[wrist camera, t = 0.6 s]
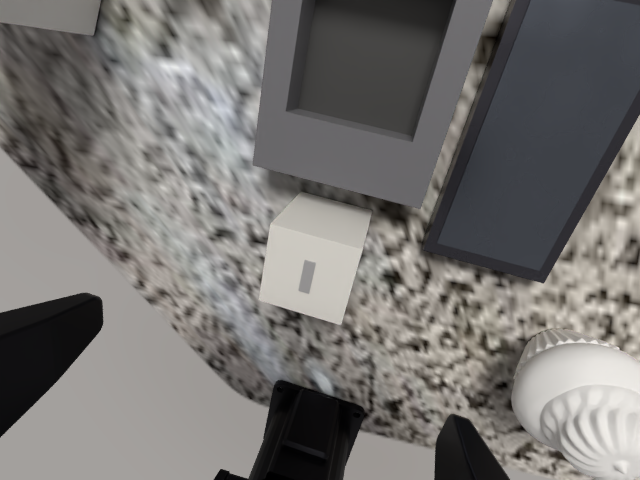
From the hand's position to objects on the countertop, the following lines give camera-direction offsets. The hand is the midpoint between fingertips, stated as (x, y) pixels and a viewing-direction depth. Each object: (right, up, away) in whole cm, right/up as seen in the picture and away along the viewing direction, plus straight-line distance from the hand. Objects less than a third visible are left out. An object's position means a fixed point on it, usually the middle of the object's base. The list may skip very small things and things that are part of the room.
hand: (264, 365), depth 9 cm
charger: (+2, +3, +11) cm, 12 cm away
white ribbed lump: (+15, -3, +11) cm, 19 cm away
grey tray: (+4, +11, +7) cm, 14 cm away
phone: (+11, +7, +7) cm, 15 cm away
